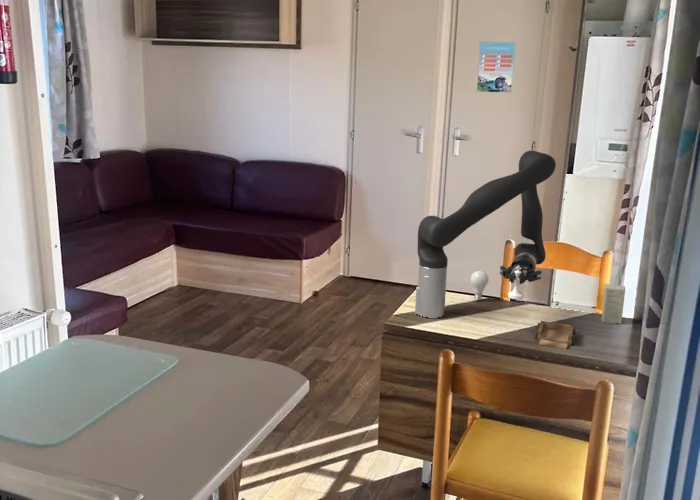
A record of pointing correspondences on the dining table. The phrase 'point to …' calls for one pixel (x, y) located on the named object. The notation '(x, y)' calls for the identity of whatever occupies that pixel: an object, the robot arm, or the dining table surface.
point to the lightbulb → (479, 283)
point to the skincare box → (613, 303)
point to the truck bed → (555, 334)
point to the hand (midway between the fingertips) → (516, 280)
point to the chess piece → (516, 286)
